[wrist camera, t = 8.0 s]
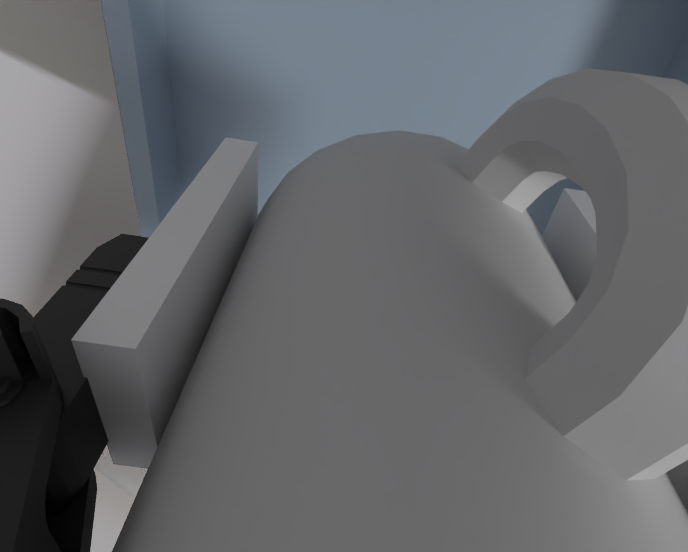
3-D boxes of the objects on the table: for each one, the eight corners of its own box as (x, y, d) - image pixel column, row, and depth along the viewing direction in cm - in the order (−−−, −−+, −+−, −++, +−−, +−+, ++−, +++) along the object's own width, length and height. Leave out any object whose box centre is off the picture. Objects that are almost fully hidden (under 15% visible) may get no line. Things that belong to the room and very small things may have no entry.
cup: (219, 286, 13) (37, 683, 6) (416, -93, 8) (712, -293, 1) (420, 377, 15) (454, 765, 8) (694, 121, 10) (1525, 625, 3)
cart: (542, 262, 24) (579, 340, 20) (194, 210, 24) (148, 277, 19) (708, -81, 16) (846, -86, 11) (163, -169, 15) (64, -214, 11)
